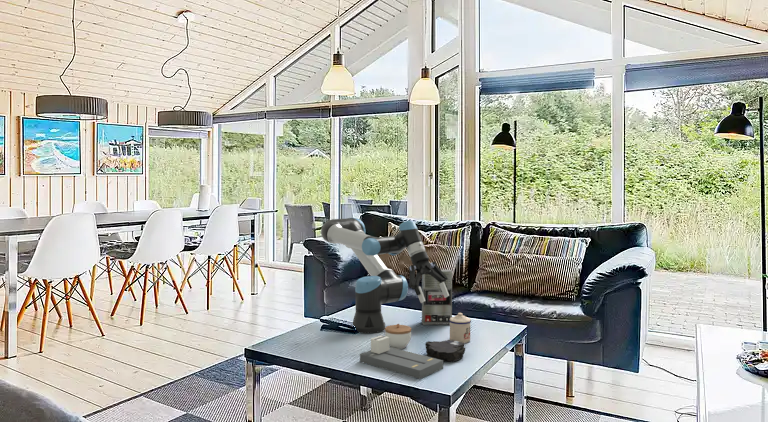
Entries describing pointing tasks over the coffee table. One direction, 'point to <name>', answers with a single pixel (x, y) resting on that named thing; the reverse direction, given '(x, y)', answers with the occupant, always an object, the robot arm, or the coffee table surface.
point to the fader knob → (379, 344)
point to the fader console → (403, 362)
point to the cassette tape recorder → (436, 300)
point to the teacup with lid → (460, 328)
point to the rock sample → (445, 350)
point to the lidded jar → (398, 335)
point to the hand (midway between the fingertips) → (435, 299)
